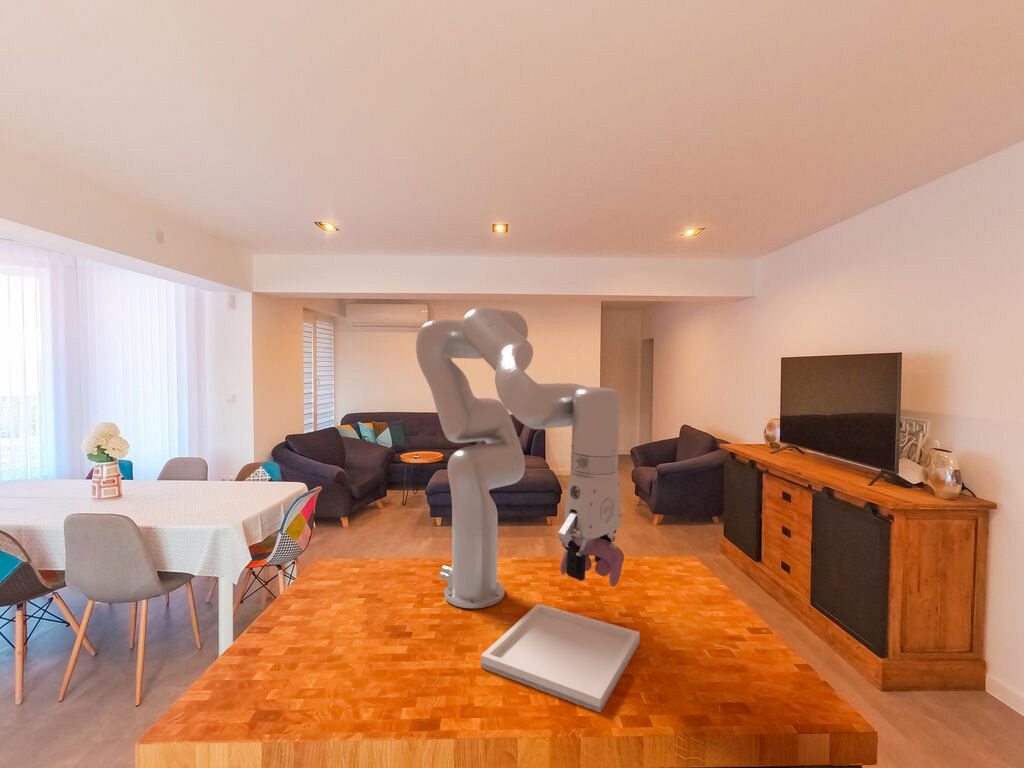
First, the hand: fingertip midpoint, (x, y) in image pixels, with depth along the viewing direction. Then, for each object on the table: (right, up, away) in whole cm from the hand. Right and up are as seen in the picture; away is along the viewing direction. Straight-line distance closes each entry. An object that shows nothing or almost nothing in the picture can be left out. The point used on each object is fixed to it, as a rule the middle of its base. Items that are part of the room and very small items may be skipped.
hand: (589, 569), depth 79 cm
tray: (-4, -15, +2) cm, 16 cm away
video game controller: (0, -1, 0) cm, 1 cm away
